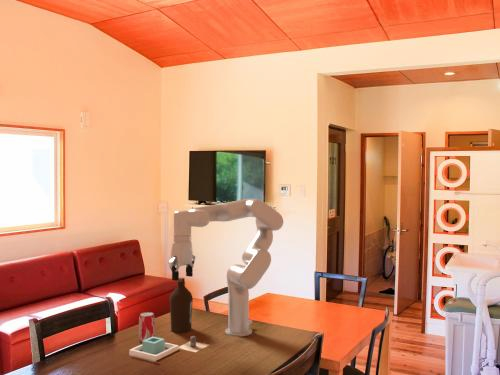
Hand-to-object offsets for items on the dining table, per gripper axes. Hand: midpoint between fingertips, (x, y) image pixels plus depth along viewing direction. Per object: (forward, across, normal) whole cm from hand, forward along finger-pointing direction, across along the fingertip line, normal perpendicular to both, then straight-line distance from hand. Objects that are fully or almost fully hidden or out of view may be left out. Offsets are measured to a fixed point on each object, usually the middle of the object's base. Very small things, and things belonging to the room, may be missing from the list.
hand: (182, 278), depth 209 cm
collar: (+28, +16, -2) cm, 32 cm away
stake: (+28, +3, +8) cm, 30 cm away
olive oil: (+28, -12, -10) cm, 32 cm away
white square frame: (+28, +16, -2) cm, 33 cm away
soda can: (+28, +6, -15) cm, 33 cm away
